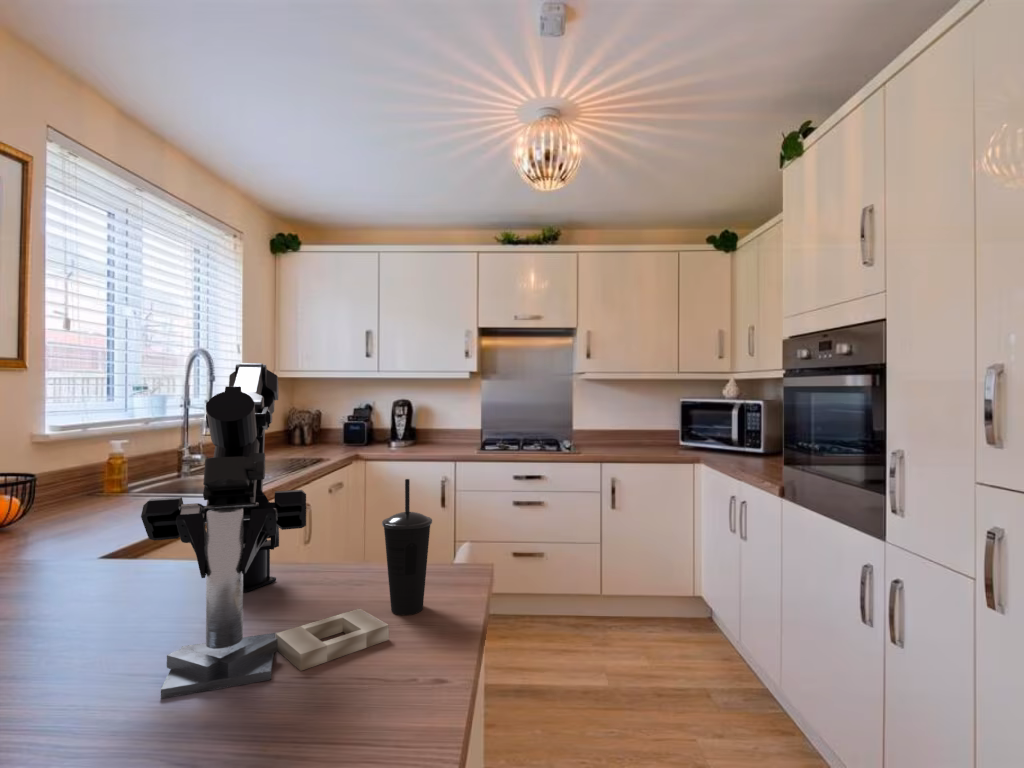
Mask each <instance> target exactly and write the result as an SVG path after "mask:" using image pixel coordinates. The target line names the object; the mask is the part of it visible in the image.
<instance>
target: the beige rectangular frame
mask: <svg viewBox="0 0 1024 768" xmlns="http://www.w3.org/2000/svg"><path fill="white" fill-rule="evenodd" d="M389 627H390V625H389V624H388V623H386V622H385V621H383V620H380V619H379V618H377V617H376V616H375V615H372V614H370V613H369V612H367V611H365V610H363V609H361V608H357V609H354V610H350V611H346V612H342V613H340V614H337V615H333V616H330V617H327V618H323V619H320V620H316V621H313V622H309V623H306V624H303V625H300V626H296V627H293V628H289V629H285V630H282V631H279V632H275V633H276V636H275V638H277V639H278V651H277V652H278V653H279V654H281V655H282V656H283V657H284V658H285V659H286V660H287V661H289V662H290V664H292V665H293V666H294V667H295V668H297V669H298V670H299V671H300V672H301V671H304V670H307V669H310V668H313V667H316V666H319V665H321V664H324V663H328V662H330V661H334V660H335V659H338V658H341V657H345V656H347V655H350V654H353V653H355V652H359V651H362V650H364V649H366V648H367V649H368V648H369V647H372V646H375V645H378V644H380V643H384V642H387V641H389V638H390V637H389V634H390V633H389V631H390V630H389ZM340 633H344V634H342V635H339V636H337V637H334V638H331V639H328V640H324V641H322V640H321V639H324V638H328V637H330V636H334V635H337V634H340Z"/></svg>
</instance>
